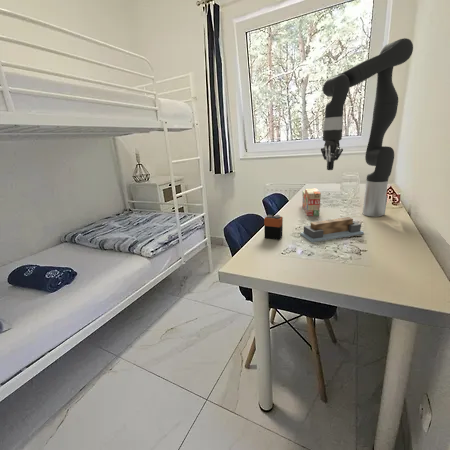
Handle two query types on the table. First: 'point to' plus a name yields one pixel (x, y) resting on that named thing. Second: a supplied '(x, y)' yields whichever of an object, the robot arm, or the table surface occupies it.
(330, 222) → the slat
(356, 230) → the cap board
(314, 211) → the stack of blocks
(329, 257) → the table surface
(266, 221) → the battery
